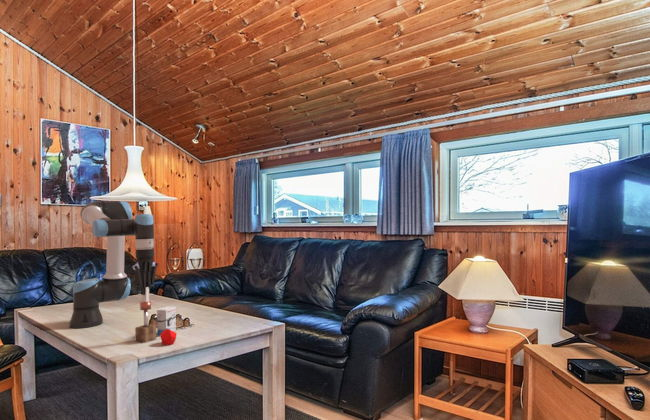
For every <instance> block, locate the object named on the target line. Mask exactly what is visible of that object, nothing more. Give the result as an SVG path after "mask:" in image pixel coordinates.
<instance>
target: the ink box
mask: <svg viewBox="0 0 650 420" xmlns="http://www.w3.org/2000/svg"><path fill="white" fill-rule="evenodd" d="M156 314H157V315H156V316H157V317H156V322H157V324H156V336H161V332H163V331H164V330H165V329H169V330H171V331H173V332H176V331H177V329H176V328H177V306H172V305H171V306H170V305H169V306H168V305H167V306H163V307H161V308H158V309H157V310H156Z"/></svg>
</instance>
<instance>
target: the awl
mask: <svg viewBox="0 0 650 420" xmlns="http://www.w3.org/2000/svg"><path fill="white" fill-rule="evenodd" d="M139 310H140V311H143V325H144V327H148V325H149V323H148V319H149V318H148V317H149V316H148V314H149V312H148V311H149V310H152V302H151V301H150V300H149V302H142V301H140V302H139Z"/></svg>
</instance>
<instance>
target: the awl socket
mask: <svg viewBox="0 0 650 420" xmlns="http://www.w3.org/2000/svg"><path fill="white" fill-rule="evenodd" d="M134 330H135V342H136V343H137V342H139V343H148V342H152V341H154V340H157V324H156V325H155V324H148V327H144V324H143V325H139V326H136V327H135V329H134Z"/></svg>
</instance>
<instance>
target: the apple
mask: <svg viewBox="0 0 650 420" xmlns="http://www.w3.org/2000/svg"><path fill="white" fill-rule="evenodd" d="M177 335H178V333H177V332H176V331H174V332H173V331H171V330H169V329H165V330H164V331H163V332H161V335H159V336H160V339H161V343H162V345H164V346H169V345H174V344H175V342H176V339H177Z"/></svg>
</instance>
